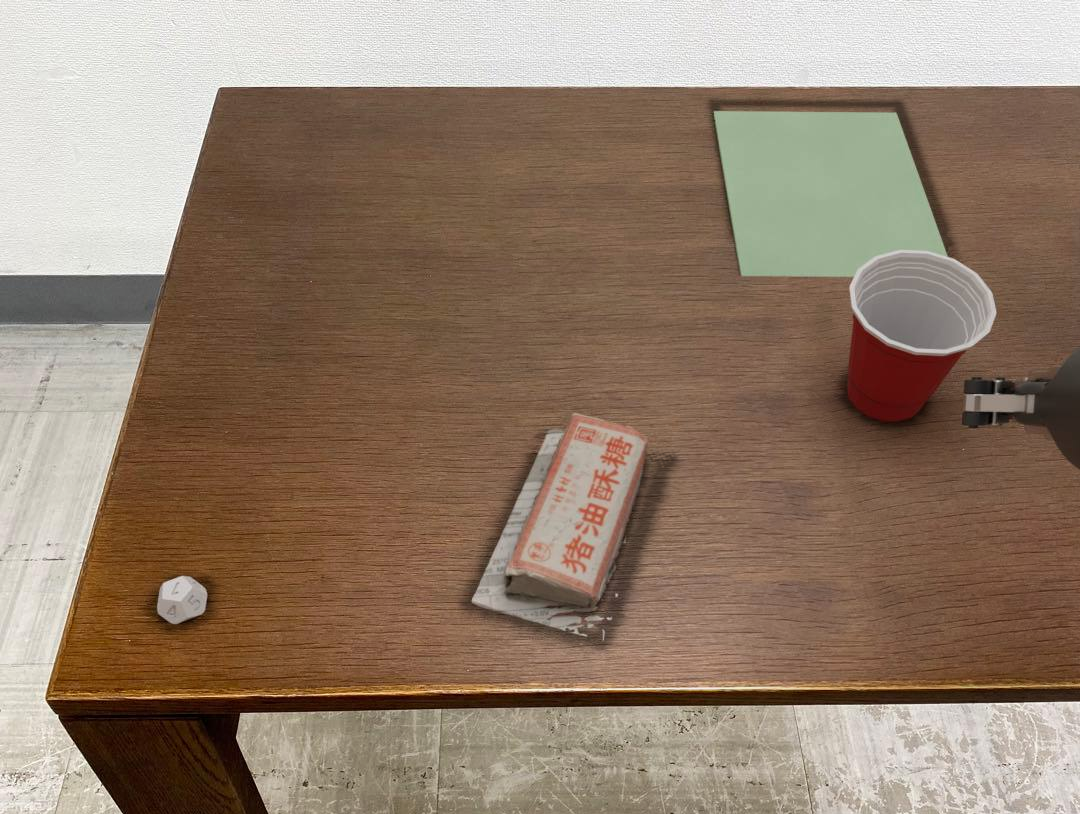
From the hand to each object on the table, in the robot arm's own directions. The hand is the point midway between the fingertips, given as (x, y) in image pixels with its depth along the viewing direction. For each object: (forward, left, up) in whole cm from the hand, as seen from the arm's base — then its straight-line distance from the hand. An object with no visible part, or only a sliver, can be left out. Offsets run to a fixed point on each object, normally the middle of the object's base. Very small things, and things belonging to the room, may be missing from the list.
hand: (1005, 400), depth 64 cm
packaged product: (+26, -2, -17) cm, 31 cm away
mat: (0, -44, -17) cm, 47 cm away
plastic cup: (0, -16, -17) cm, 23 cm away
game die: (+54, +5, -17) cm, 57 cm away
